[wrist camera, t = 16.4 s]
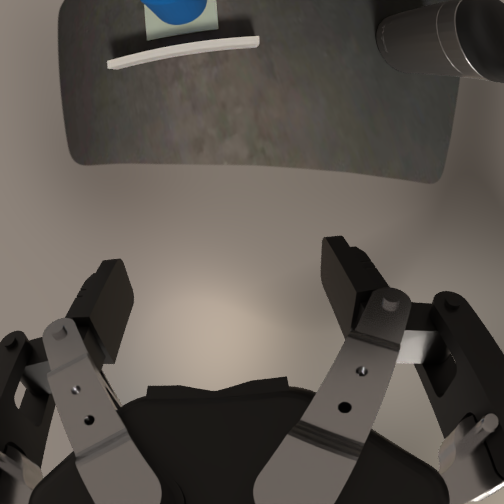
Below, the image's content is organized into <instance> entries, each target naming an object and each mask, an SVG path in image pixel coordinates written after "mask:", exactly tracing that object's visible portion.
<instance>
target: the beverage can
mask: <svg viewBox="0 0 504 504" xmlns="http://www.w3.org/2000/svg"><path fill="white" fill-rule="evenodd" d="M141 1H142V2H143V3H144V4H145V5H146V6H147V7H148V8H149V9H150V10H151V11H152V12H153V13H154V14H155V15H156V16H157V17H158V18H159V19H161V20H162V21H163V22H165V23H167V24H171V25H182V24H187V23H189V22H192V21H194V20H195V19H197V18H198V17H199V16H200V15H201V14H202V13H203V11H204V10H205V7H206V4H207V0H141Z"/></svg>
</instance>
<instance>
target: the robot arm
mask: <svg viewBox="0 0 504 504" xmlns="http://www.w3.org/2000/svg"><path fill="white" fill-rule="evenodd" d="M376 40H377V46H378V48H379V51H380V53H381V55H382V57H383V58H384V59H385V61H386V62H387V63H388V64H389V65H390V66H392V67H393V68H394V69H396V70H398V71H400V72H403V73H413V74H432V75H446V76H457V77H466V78H474V79H483V80H489V81H494V82H501V83H504V3H502V2H501V1H500V0H450V1H445V2H441V3H436V4H432V5H428V6H424V7H420V8H416V9H412V10H409V11H405V12H402V13H398V14H395V15H392V16H389V17H387V18H385V19H384V20H383V21H382V22H381V23H380V24H379V26H378V29H377V33H376ZM321 281H322V284H323V287H324V290H325V292H326V294H327V297H328V299H329V302H330V304H331V306H332V308H333V311H334V313H335V316H336V318H337V320H338V323H339V325H340V328H341V330H342V333H343V335H344V338H345V342H344V344H343V346H342V348H341V350H340V352H339V354H338V356H337V357H336V359H335V361H334V363H333V365H332V366H331V368H330V370H329V372H328V374H327V376H326V377H325V379H324V381H323V383H322V384H321V386H320V388H319V390H318V391H317V393H316V392H313V391H311V390H307V389H304V388H299V387H291V386H289V385H288V380H287V377H279V378H271V379H262V380H253V381H249V382H246V383H242V384H239V385H236V386H233V387H229V388H226V389H222V390H218V391H209V390H203V389H197V388H191V387H186V386H181V385H177V386H148V389H147V394H146V396H144V397H141V398H138V399H135V400H133V401H131V402H129V403H127V404H125V405H122V404H121V402H120V400H119V399H118V397H117V395H116V394H115V392H114V390H113V388H112V386H111V385H110V383H109V381H108V379H107V377H106V375H105V374H104V372H103V371H102V366H103V364H115V360H116V357H117V354H118V350H119V347H120V343H121V341H122V337H123V334H124V331H125V328H126V325H127V322H128V319H129V316H130V313H131V310H132V307H133V303H134V294H133V289H132V287H131V284H130V281H129V278H128V275H127V272H126V269H125V266H124V263H123V261H122V260H121V259H112V260H104V261H102V263H101V265H100V267H99V268H98V270H97V272H96V273H93V274H92V275H91V276H90V277H89V278H88V279H87V280H86V281H85V282H84V284H83V286H82V288H81V291H79V293H78V295H77V298H75V300H74V302H73V304H72V305H71V307H70V309H69V311H68V313H67V315H66V317H65V318H61V319H58V320H56V321H54V322H52V323H51V324H50V325H49V326H48V327H47V328H46V329H45V330H44V333H43V337H41V338H37V339H33V340H30V341H29V340H28V339H27V337H26V335H25V334H24V333H23V332H22V331H14V332H12V333H10V334H8V335H7V336H5V337H4V338H3V339H2V341H1V342H0V504H465V503H467V502H469V501H480V500H483V499H484V498H486V497H488V496H490V495H492V494H493V493H495V492H497V491H499V490H500V489H502V488H503V487H504V354H503V353H502V351H501V350H500V348H499V346H498V345H497V343H496V342H495V340H494V339H493V337H492V336H491V334H490V333H489V331H488V330H487V328H486V327H485V325H484V324H483V323H482V321H481V320H480V318H479V317H478V316H477V314H476V313H475V311H474V310H473V309H472V307H471V306H470V305H469V303H468V302H467V301H466V300H465V299H464V298H463V297H462V296H461V295H459V294H457V293H454V292H449V291H443V292H439V293H438V294H436V295H435V297H434V300H433V302H432V304H429V303H413V302H411V300H410V298H409V297H408V296H407V295H406V294H405V293H404V292H402V291H401V290H398V289H395V288H390V287H389V286H388V284H387V283H386V281H385V280H384V278H383V277H382V275H381V274H380V273H379V271H378V270H377V268H375V265H374V264H373V263H372V262H371V260H370V258H369V257H368V256H367V254H366V253H365V252H364V251H362V250H360V249H359V248H357V247H350V246H349V245H348V243H347V242H346V240H345V239H344V237H343V236H332V237H324V238H323V240H322V255H321ZM450 352H451V353H450ZM451 354H452V355H451ZM452 356H453V357H452ZM453 358H454V359H453ZM454 360H455V361H454ZM455 362H456V363H455ZM396 363H414V365H415V368H416V370H417V372H418V374H419V377H420V379H421V381H422V384H423V386H424V388H425V391H426V393H427V395H428V398H429V400H430V403H431V405H432V408H433V410H434V412H435V415H436V418H437V420H438V423H439V426H440V428H441V431H442V433H443V436H444V439H445V440H444V441H443V442H442V444H441V445H440V448H439V452H438V453H439V454H438V457H439V471H437V470H436V469H434V468H433V467H432V466H430V465H429V464H427V463H425V462H424V461H422V460H420V459H419V458H417V457H415V456H414V455H412V454H411V453H409V452H407V451H405V450H404V449H402V448H401V447H399V446H398V445H396V444H395V443H393V442H391V441H390V440H388V439H386V438H385V437H384V436H382V435H380V434H379V433H377V432H376V431H374V430H373V429H371V428H372V425H373V423H374V421H375V418H376V416H377V413H378V411H379V408H380V406H381V403H382V401H383V398H384V395H385V393H386V390H387V387H388V384H389V382H390V379H391V376H392V373H393V370H394V367H395V364H396ZM20 381H21V382H22V384H23V385H24V386H25V387H26V391H25V394H24V397H23V399H22V402H21V406H20V408H19V409H18V408H17V407H16V405H15V401H14V395H15V392H16V389H17V387H18V384H19V382H20ZM55 405H56V407H57V410H58V413H59V415H60V418H61V421H62V423H63V426H64V429H65V431H66V434H67V436H68V438H69V441H70V443H71V446H72V448H73V450H74V451H73V452H72V453H71V454H70V455H68V456H67V457H66V458H65V459H64V460H63V461H62V462H61V463H60V464H59V465H58V466H56V467H55V468H54V469H53V470H52V471H51V472H50V473H49V474H48V475H47V476H46V477H44V478H43V475H42V472H41V465H42V459H43V455H44V450H45V445H46V441H47V436H48V432H49V428H50V424H51V420H52V416H53V412H54V409H55Z"/></svg>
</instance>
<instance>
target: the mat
mask: <svg viewBox="0 0 504 504" xmlns="http://www.w3.org/2000/svg"><path fill="white" fill-rule="evenodd" d="M144 6H145V22H146V35H147V41H150V40H155V39H160V38H165V37H170V36H175V35H181V34H187V33H194V32H201V31H209V30H218V29H219V28H218V16H217V5H216V0H207V4H206V7H205V10H204V11H203V13H202V14H201V15H200V16H199V17H198V18H197V19H195V20H194V21H192V22H189V23H187V24H182V25H171V24H167V23H165V22H163V21H162V20H161V19H159V18H158V17H157V16H156V15H155V14H154V13H153V12H152V11H151V10H150V9H149V8H148V7H147V6H146V5H145V4H144Z"/></svg>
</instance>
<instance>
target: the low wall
mask: <svg viewBox="0 0 504 504" xmlns="http://www.w3.org/2000/svg"><path fill="white" fill-rule="evenodd" d="M258 45H259V36H249V37H235V38H224V39H215V40H206V41H199V42H192V43H185V44H179V45H173V46H168V47H163V48H158V49H153V50H148V51H144V52H140V53H136V54H131V55H128V56H124V57H120V58H116V59H113V60H109V61H107V63H108V69H121V68H125V67H129V66H133V65H137V64H142V63H146V62H151V61H155V60H160V59H165V58H171V57H177V56H182V55H189V54H196V53H203V52H211V51H219V50H230V49H242V48H257V46H258Z"/></svg>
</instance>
